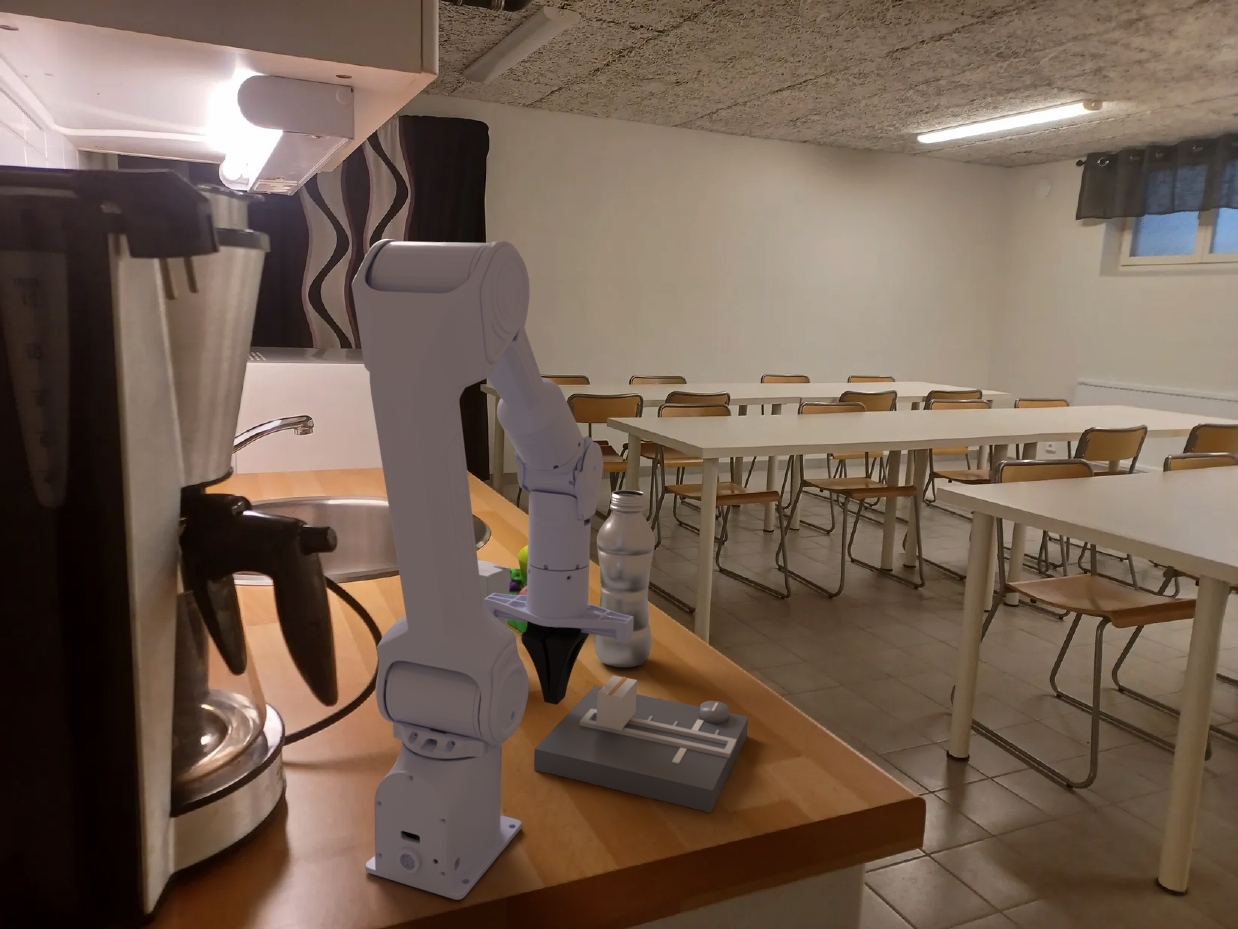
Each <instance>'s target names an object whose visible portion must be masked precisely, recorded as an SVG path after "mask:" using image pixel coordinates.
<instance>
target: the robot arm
mask: <svg viewBox="0 0 1238 929" xmlns="http://www.w3.org/2000/svg"><path fill="white" fill-rule="evenodd" d="M530 289H531V288H530V278H529V273H528V269H527V266H526V263H525V261H524V259H523V257H522V256H521V254H520V253H519V251H518V249H517V248H516V246H515V245H513V244H512V243H511V242H509V241H507V240H499V241H498V240H496V241H494V240H493V241H491V242H452V241H451V242H450V241H448V242H446V241H443V242H441V241H440V242H439V241H438V242H437V241H400V240H398V239H395V238H394V239H390V238H385V239H381V240H379V241H377V242H375V243H374V244H373V245H372V246H371V247H370V248H369V250H368V252H367V253H366V254H365V256H364V259H363V260H362V262H361V264H360V266H359V269H358V270H357V273H356V274H355V276H354V278H353V280H352V281H351V290H352V291H351V292H352V296H353V302H354V309H355V313H356V315H355V316H356V321H357V322H356V323H357V327H358V334H359V340H360V347H361V353H362V359H363V365H364V368H365V369H366V371H368V372H369V386H370V396H371V401H372V408H373V413H374V415H373V416H374V421H375V426H376V434H377V440H378V446H379V453H380V459H381V466H382V472H383V478H384V484H385V485H384V486H385V491H386V495H387V498H386V499H387V504H388V509H389V516H390V524H391V530H392V535H393V540H394V541H393V542H394V548H395V554H396V561H397V567H398V573H399V579H400V586H401V587H400V588H401V594H402V599H403V604H404V611H405V615H403V616H402V617H400V618H399V619H398V620H396V621H395V622H394V623H393V624H392V625H391V626H390V627H389V628H388V629H387V630H386V632H385V633H384V634H383V636H382V637H381V640H379V643H378V644H377V646H376V651H377V652H376V653H377V660H378V669H377V676H376V680H375V681H376V682H375V699H376V704H377V708H378V712H379V713H380V715H381V717H382V718H383V719H384V720H386V721H388V722H390V723H393V724H392V736H393V738H395V739H398V740H400V741H401V744H400V751H399V754H398V755H397V759H396V761H395V763H394V764H393V765H392V767H391V769H390V770H389V772H387V774H386V775H385V776H384V777H383V779H382V780H381V781H380V782H379V784H378V786H377V788H376V790H375V795H374V855H373V856H372V857H370V859H369V860H367V862H366V863H365V864H364V865H365V866H364V870H365V872H366V873H368V874H371V875H375V876H378V877H381V878H385V879H387V880H391V881H394V882H398V883H400V884H403V885H407V886H410V887H412V888H413V887H414V888H416V889H420V890H423V891H426V892H428V893H429V892H430V893H433V894H436V895H439V896H443V897H445V898H449V899H452V900H456V901H457V900H462V899H463V898H465V897H466V896H467V895H468V893H469V892H470V890H472V888H473V887H474V886H475V885H476V884H477V882H478V881H479V880H480V879H481V877H482V876H483V875H484V874H485V873H486V872H487V870H488V869H489V868H490V867H491V866H492V864H493V863H494V862H495V861H496V860H497V858H498V857H499V856H500V854H501V853H502V852H503V851H504V849H505V848H507V846H508V845H509V844H510V842H511V841H512V840H513V839H514V837H516V835H517V834H518V832H520V830H522V825H523V824H522V821H521V820H519V819H516V818H513V817H510V816H505V815H503V814H502V813H501V812H502V766H503V765H502V764H503V763H502V758H503V757H502V755H503V754H502V751H503V748H502V747H503V744H504V743H505V742H507V741H508V739H509V738H511V737H512V736H513V735H514V734H515V732H516V730H517V729H518V728H519V727H520V724H521V722H522V720H523V716H524V714H525V711H526V708H527V704H528V703H527V702H528V697H529V689H530V688H529V685H530V684H529V676H528V671H527V669H526V667H525V664H524V662H523V660H522V659H521V657H520V654H519V650H518V645H517V636H516V634H515V633H514V632H513V631H512V630H511V629H510V628H509V627H508V626H507V627H506V626H505V625H504V624H503V623H502V622H501V621H500V620H498V619H497V618H496V617H498V618H504V619H510V620H515V621H521V622H526V623H527V627H526V631H525V632H524V633H523V632H521V636H520V637H521V643H522V645H523V647H524V648H525V649H526V651H527V653H528V654H529V655H528V656H529V657H530V658H531V661H532V662H533V665H534V666H533V667H534V668H535V670H536V674H537V677H538V680H539V683H540V688H541V689H540V690H541V693H542V697H543V702H544V703H547V704H550V705H556V706H557V705H558V704H560V702H562V700H564V698H566V696H567V695H566V694H567V689H568V685H569V681H570V677H571V674H572V671H573V668H574V666H575V663H576V660H577V658H578V656H579V653H580V652H581V650H582V648H583V646H584V644H585V642H586V641H587V639H588V638H589V636H590V635H593V636H594V635H599V636H605V637H610V638H615V641H616V642H621V643H626V642H627V641H629V640H630V638H631V637H632V636H633V621H634V617H633V616H628V615H624V614H620V613H616V612H613V611H610V610H607V609H604V608H601V607H599V605H595V604H592V603H589V583H590V580H589V579H590V561H591V560H590V556H591V555H590V554H591V528H592V516H593V515H595V514H596V511H597V507H598V494H599V490H600V485H601V481H602V477H603V471H604V461H603V452H602V449H601V446H600V445H599V443H598V442H594V440H593V439H592V438H591V437H590V436H589V435H588V436H586V435H583V434H582V432H581V429H580V428H579V425H578V424H577V421H576V419H575V417H574V415H573V412H572V410H571V408H570V406H569V403H568V401H567V399H566V397H565V394H564V393H563V391H562V389H561V387H560V386H559V385H558V384H557V383H556V382H555V381H553V380H551V379H548V378H546V377H542V376H541V375H542V374H541V372H540V368H539V366H538V363H537V361H536V358H535V355H534V352H533V349H532V346H531V343H530V340H529V338H528V335H527V331H526V328H525V327H526V322H527V317H528V311H529V306H530V305H529V303H530ZM486 379H487V380H488V382H489V383H490V384H491V386H492V387H493V389H494V390H495V391H496V393H497V394H498V396H499V397H500V398H499V401H498V403H497V410H496V415H497V416H496V417H497V420H498V423H499V424H500V426H501V427H502V429H503V431H504V433H505V434H506V437H507V438H508V439H509V441H510V443H511V444H512V447H513V449H515V451H514V454H513V456H514V461H515V464H516V475H517V482H518V485H519V488H521V489H522V490H523V491H524V492H526V493H529V494H528V525H527V530H528V531H527V545H528V566H527V595H506V594H498V593H493V594H491V595H489V596H488V597H486V598H485V599H484V606H483V603H482V594H481V586H480V577H479V568H478V560H479V559H478V553H477V545H476V536H475V528H474V518H473V511H472V510H473V509H472V501H471V500H472V499H471V493H470V492H471V491H470V485H469V474H468V465H467V457H466V449H465V440H464V432H463V423H462V414H461V407H460V406H461V405H460V401H461V400H460V398H461V397H462V394H463V393H464V391H465V389H466V388H468V387H470V386H472V385H474V384H477V383H479V382H481V381H483V380H486ZM501 814H502V815H501Z"/></svg>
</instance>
